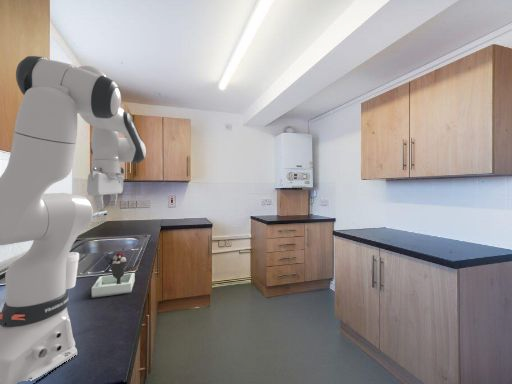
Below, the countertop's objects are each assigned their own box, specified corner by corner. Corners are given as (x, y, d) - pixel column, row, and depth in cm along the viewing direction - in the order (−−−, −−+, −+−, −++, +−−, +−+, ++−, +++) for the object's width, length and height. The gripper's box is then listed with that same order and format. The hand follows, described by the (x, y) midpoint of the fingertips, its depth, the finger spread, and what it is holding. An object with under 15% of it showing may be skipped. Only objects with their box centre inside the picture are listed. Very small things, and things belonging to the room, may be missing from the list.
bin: (130, 292, 100) (130, 283, 100) (91, 297, 96) (91, 288, 96) (134, 280, 112) (134, 272, 112) (100, 284, 108) (100, 276, 108)
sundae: (131, 284, 107) (131, 247, 106) (118, 290, 100) (118, 251, 100) (118, 282, 109) (117, 246, 108) (105, 289, 102) (104, 250, 102)
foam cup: (65, 292, 101) (64, 258, 100) (44, 291, 102) (43, 258, 102) (85, 283, 110) (84, 252, 110) (65, 282, 111) (65, 251, 111)
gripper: (101, 166, 85) (102, 209, 85) (126, 170, 105) (126, 204, 105) (80, 166, 84) (81, 210, 84) (109, 170, 104) (110, 205, 105)
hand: (107, 207), depth 95 cm, fingers open, 8 cm apart
